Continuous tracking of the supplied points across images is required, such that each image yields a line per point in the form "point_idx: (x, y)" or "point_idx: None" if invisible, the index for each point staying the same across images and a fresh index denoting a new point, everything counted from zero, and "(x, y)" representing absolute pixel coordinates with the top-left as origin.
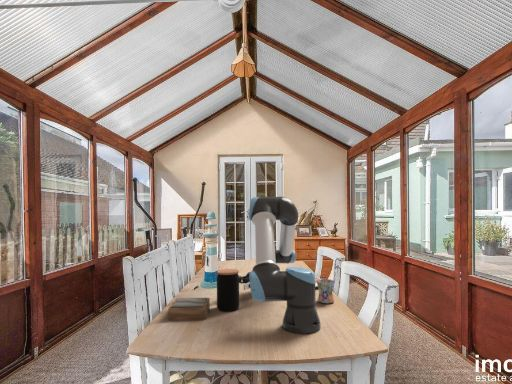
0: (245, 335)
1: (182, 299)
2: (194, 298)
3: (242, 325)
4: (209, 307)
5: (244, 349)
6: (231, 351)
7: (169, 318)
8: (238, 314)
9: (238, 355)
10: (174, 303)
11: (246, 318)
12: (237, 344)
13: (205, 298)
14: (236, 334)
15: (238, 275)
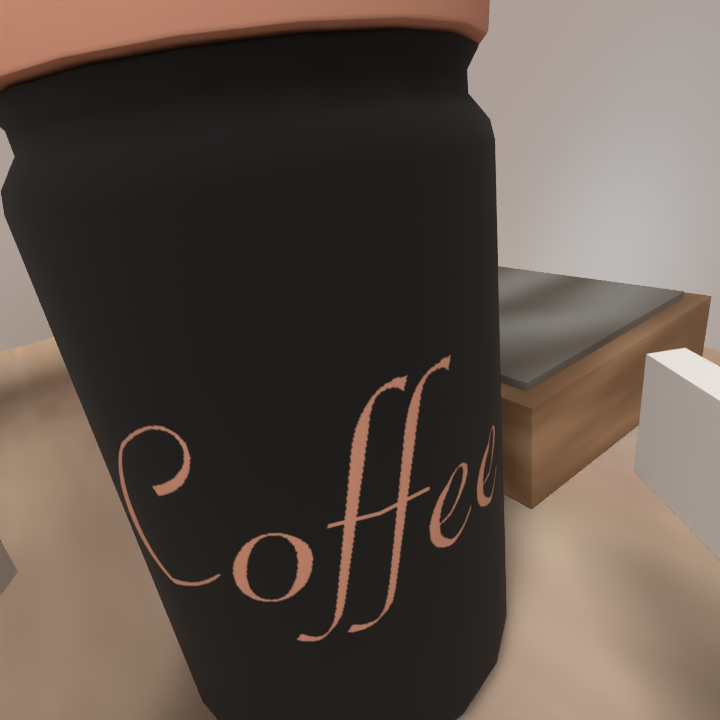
0: (16, 408)
1: (614, 298)
2: (581, 333)
3: (51, 454)
4: (525, 496)
5: (10, 366)
6: (57, 348)
7: None
8: (140, 560)
9: (28, 348)
10: (542, 273)
11: (35, 536)
12: (44, 368)
13: (506, 368)
14: (66, 396)
15: (5, 183)
